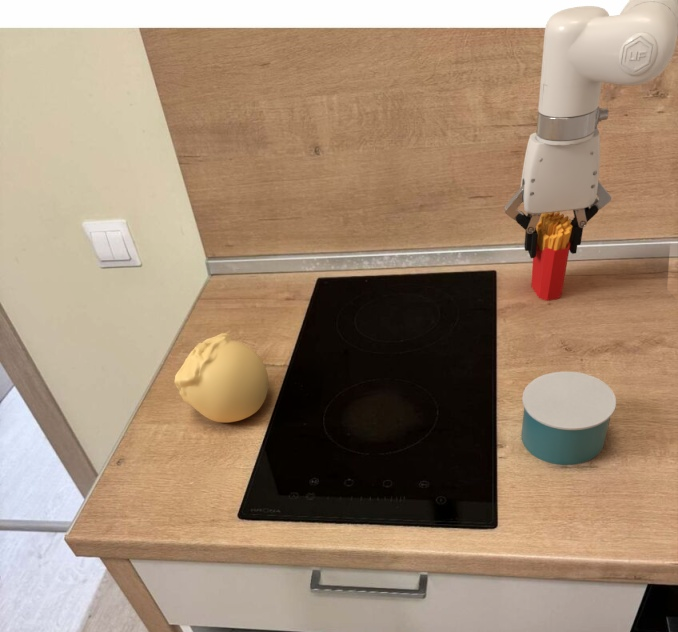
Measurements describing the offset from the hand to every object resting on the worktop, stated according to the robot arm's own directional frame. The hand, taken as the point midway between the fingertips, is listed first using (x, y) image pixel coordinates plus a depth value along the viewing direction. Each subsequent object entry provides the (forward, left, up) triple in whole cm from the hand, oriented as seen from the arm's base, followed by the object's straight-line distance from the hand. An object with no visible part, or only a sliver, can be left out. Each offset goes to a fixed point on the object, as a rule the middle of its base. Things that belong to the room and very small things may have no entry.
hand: (551, 250), depth 95 cm
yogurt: (+5, +36, -7) cm, 37 cm away
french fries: (0, 0, -7) cm, 7 cm away
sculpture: (+49, +23, -7) cm, 55 cm away
